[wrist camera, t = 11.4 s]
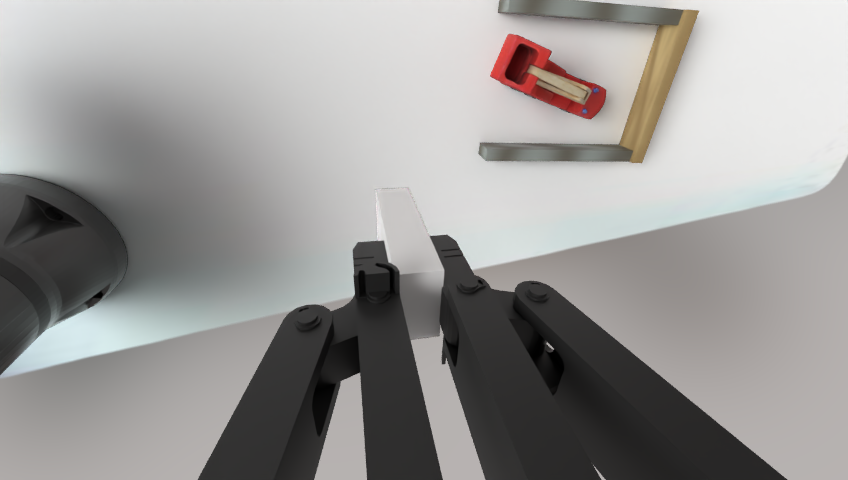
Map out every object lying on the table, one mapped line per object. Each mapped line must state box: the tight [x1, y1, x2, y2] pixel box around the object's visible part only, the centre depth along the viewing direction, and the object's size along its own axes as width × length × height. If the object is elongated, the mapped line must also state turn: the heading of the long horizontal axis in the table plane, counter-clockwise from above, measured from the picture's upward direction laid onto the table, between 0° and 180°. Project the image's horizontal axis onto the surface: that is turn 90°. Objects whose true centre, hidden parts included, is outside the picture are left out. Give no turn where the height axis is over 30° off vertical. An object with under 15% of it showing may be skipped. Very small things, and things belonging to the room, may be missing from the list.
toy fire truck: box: [490, 34, 606, 119], centre depth 32 cm, size 3×14×10 cm, turn 69°
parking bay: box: [479, 0, 699, 163], centre depth 36 cm, size 18×14×3 cm
